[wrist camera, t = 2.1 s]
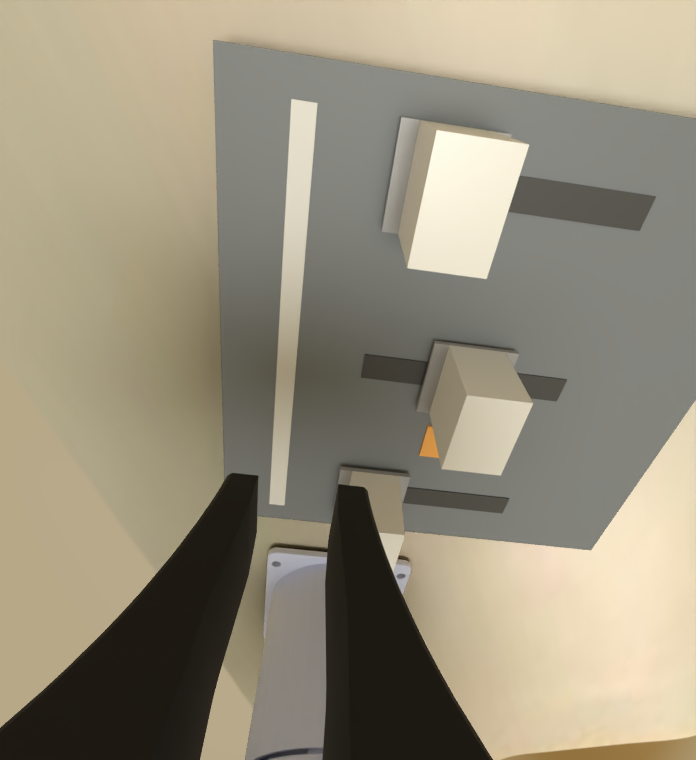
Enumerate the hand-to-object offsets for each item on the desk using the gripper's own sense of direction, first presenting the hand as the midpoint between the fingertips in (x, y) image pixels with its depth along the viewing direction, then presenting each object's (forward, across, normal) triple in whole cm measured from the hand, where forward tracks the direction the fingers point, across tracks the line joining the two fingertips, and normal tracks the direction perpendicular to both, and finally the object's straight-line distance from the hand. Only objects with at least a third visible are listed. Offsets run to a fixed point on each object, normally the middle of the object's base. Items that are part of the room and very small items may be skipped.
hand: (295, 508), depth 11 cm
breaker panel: (+8, -6, 0) cm, 10 cm away
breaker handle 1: (+7, -3, +6) cm, 10 cm away
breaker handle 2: (+7, -3, -6) cm, 10 cm away
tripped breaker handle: (+7, -5, 0) cm, 9 cm away
